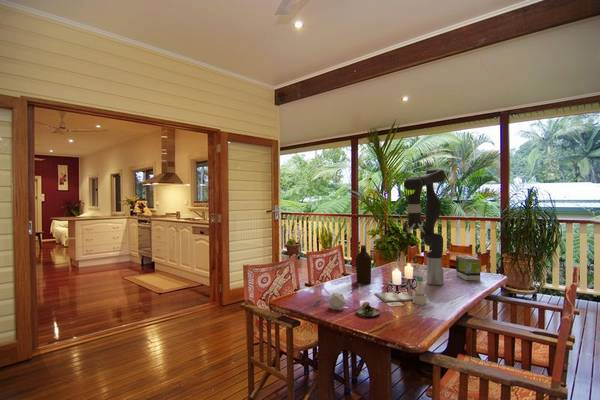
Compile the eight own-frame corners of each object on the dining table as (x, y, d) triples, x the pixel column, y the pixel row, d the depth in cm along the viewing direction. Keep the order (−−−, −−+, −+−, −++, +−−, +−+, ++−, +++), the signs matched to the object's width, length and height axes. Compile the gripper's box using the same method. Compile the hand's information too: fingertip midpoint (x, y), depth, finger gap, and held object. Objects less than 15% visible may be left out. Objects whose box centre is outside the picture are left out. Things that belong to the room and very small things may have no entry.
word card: (386, 303, 176) (386, 302, 176) (400, 302, 177) (400, 301, 177) (390, 306, 171) (390, 306, 171) (404, 305, 172) (404, 304, 172)
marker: (420, 300, 178) (420, 276, 178) (423, 302, 175) (423, 277, 175) (415, 301, 177) (415, 276, 177) (418, 302, 174) (418, 277, 174)
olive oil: (364, 285, 211) (364, 247, 211) (352, 282, 220) (351, 245, 219) (375, 282, 218) (374, 245, 218) (362, 279, 226) (362, 243, 226)
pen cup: (422, 300, 180) (421, 292, 180) (428, 304, 173) (428, 295, 173) (411, 301, 179) (410, 293, 179) (417, 305, 172) (416, 296, 172)
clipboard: (406, 292, 196) (406, 290, 196) (419, 300, 180) (419, 298, 180) (374, 294, 192) (374, 292, 192) (385, 302, 177) (385, 300, 177)
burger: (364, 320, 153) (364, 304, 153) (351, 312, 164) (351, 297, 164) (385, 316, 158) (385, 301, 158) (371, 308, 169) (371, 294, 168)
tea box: (481, 280, 218) (480, 258, 218) (466, 281, 219) (465, 259, 218) (469, 275, 234) (469, 254, 233) (455, 275, 234) (455, 255, 234)
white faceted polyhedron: (336, 314, 163) (347, 298, 164) (323, 303, 167) (334, 287, 168) (340, 314, 170) (350, 299, 171) (327, 304, 174) (337, 289, 175)
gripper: (422, 211, 198) (422, 237, 198) (400, 212, 196) (400, 238, 196) (428, 211, 190) (429, 239, 191) (406, 212, 188) (407, 240, 188)
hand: (415, 239), depth 193 cm, fingers open, 8 cm apart
